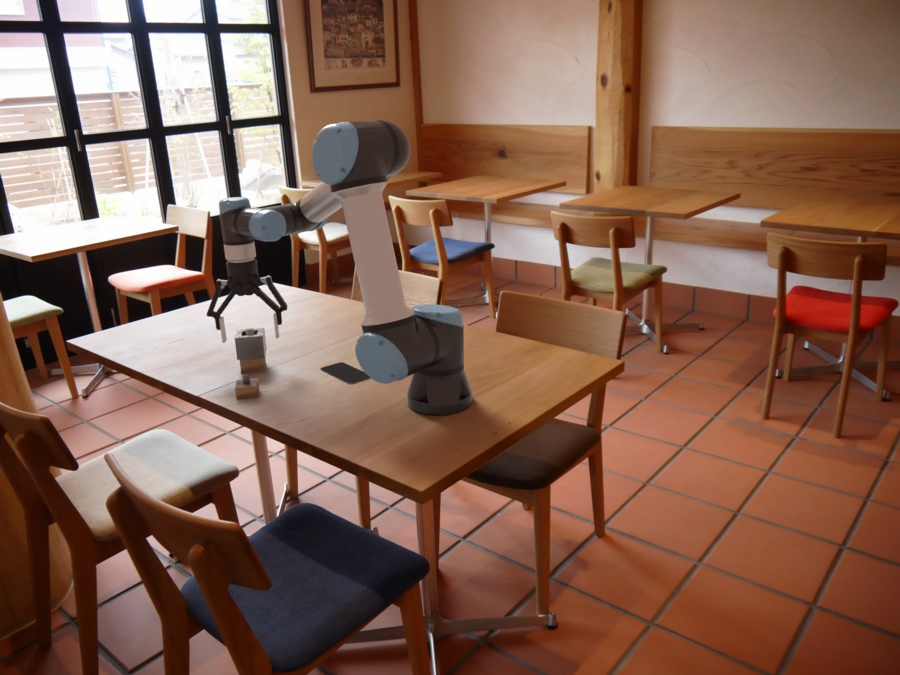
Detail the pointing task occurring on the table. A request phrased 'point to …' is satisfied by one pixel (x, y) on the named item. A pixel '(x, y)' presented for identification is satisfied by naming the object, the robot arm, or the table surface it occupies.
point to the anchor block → (247, 388)
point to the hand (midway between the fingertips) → (251, 339)
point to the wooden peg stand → (252, 361)
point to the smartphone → (345, 373)
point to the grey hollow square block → (250, 344)
